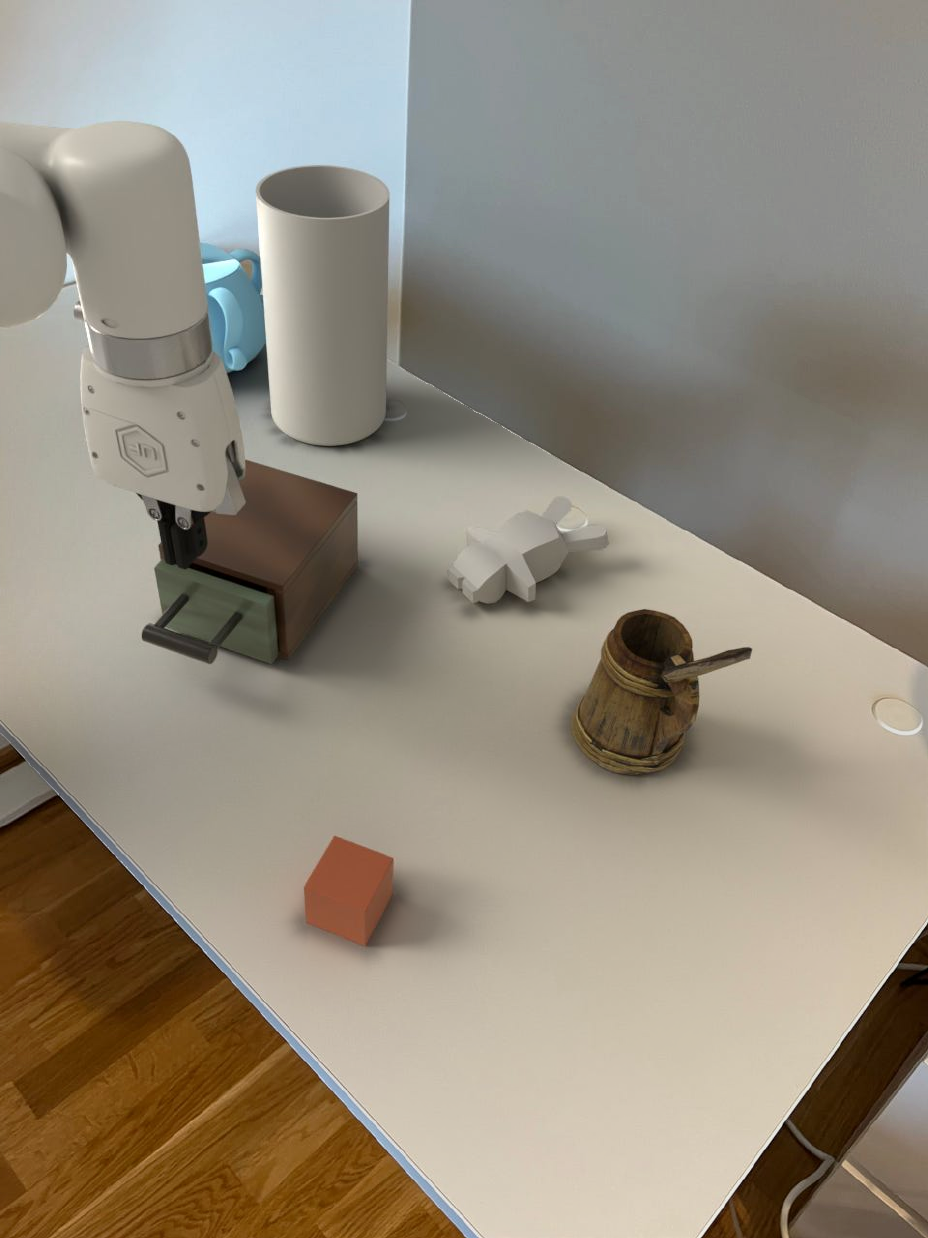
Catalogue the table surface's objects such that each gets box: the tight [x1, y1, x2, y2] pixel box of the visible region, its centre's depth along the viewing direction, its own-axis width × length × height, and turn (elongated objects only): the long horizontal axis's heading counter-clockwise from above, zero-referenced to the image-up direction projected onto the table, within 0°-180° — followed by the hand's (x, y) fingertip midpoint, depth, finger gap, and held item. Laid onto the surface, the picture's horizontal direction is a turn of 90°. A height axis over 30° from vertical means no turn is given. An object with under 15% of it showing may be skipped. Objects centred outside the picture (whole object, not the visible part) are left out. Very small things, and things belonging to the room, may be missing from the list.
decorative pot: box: [200, 242, 266, 374], centre depth 120 cm, size 16×16×14 cm
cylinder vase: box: [255, 164, 390, 447], centre depth 109 cm, size 12×12×25 cm
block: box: [303, 835, 395, 947], centre depth 73 cm, size 4×4×4 cm
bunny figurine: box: [447, 495, 610, 605], centre depth 100 cm, size 10×5×15 cm
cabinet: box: [157, 458, 359, 661], centre depth 94 cm, size 14×12×9 cm
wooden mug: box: [570, 608, 753, 776], centre depth 80 cm, size 9×14×18 cm, turn 20°
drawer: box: [141, 559, 279, 665], centre depth 91 cm, size 18×10×7 cm, turn 158°
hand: (186, 555), depth 80 cm, fingers closed
